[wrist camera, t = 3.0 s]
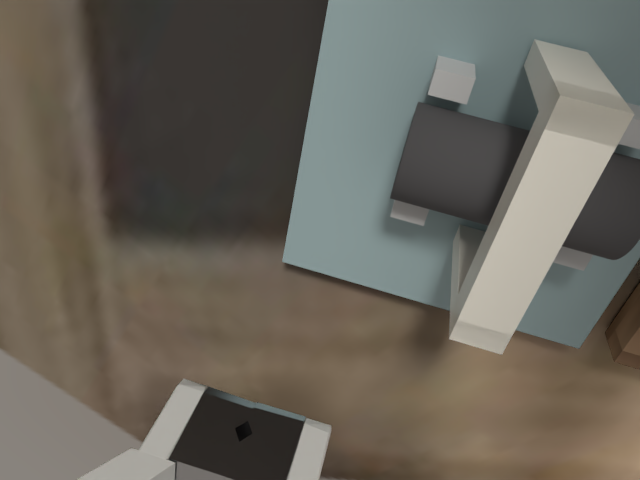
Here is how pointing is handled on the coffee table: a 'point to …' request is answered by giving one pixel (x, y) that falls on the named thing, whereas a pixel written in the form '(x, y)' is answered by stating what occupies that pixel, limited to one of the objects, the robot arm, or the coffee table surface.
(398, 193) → the dark grey rounded bar
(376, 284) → the clip board
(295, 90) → the coffee table surface
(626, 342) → the tray
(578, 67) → the u-shaped staple bracket
